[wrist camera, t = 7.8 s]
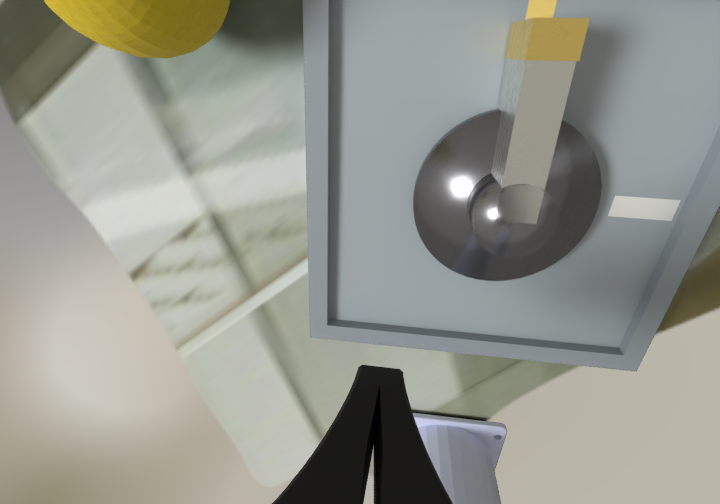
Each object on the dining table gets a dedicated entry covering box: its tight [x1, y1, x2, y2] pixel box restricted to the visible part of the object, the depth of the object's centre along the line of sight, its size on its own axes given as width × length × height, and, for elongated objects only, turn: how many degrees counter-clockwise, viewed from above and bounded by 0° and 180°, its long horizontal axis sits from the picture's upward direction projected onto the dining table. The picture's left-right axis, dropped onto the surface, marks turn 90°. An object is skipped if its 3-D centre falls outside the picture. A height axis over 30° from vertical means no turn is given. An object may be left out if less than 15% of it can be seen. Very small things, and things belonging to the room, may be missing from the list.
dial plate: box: [303, 0, 720, 371], centre depth 18 cm, size 18×18×2 cm
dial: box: [413, 18, 602, 281], centre depth 16 cm, size 11×8×3 cm
